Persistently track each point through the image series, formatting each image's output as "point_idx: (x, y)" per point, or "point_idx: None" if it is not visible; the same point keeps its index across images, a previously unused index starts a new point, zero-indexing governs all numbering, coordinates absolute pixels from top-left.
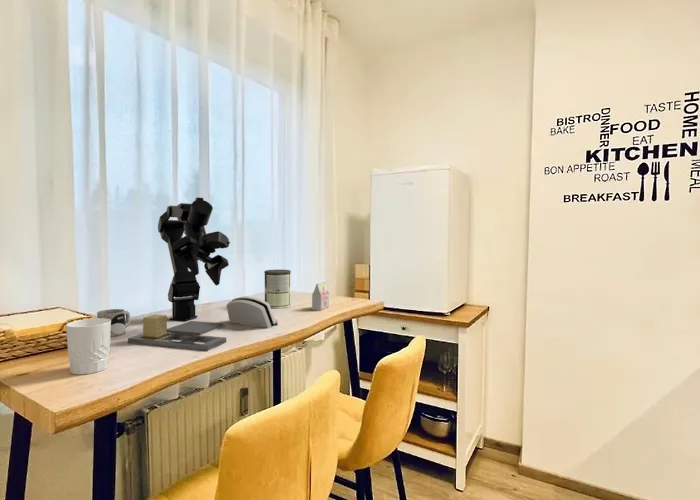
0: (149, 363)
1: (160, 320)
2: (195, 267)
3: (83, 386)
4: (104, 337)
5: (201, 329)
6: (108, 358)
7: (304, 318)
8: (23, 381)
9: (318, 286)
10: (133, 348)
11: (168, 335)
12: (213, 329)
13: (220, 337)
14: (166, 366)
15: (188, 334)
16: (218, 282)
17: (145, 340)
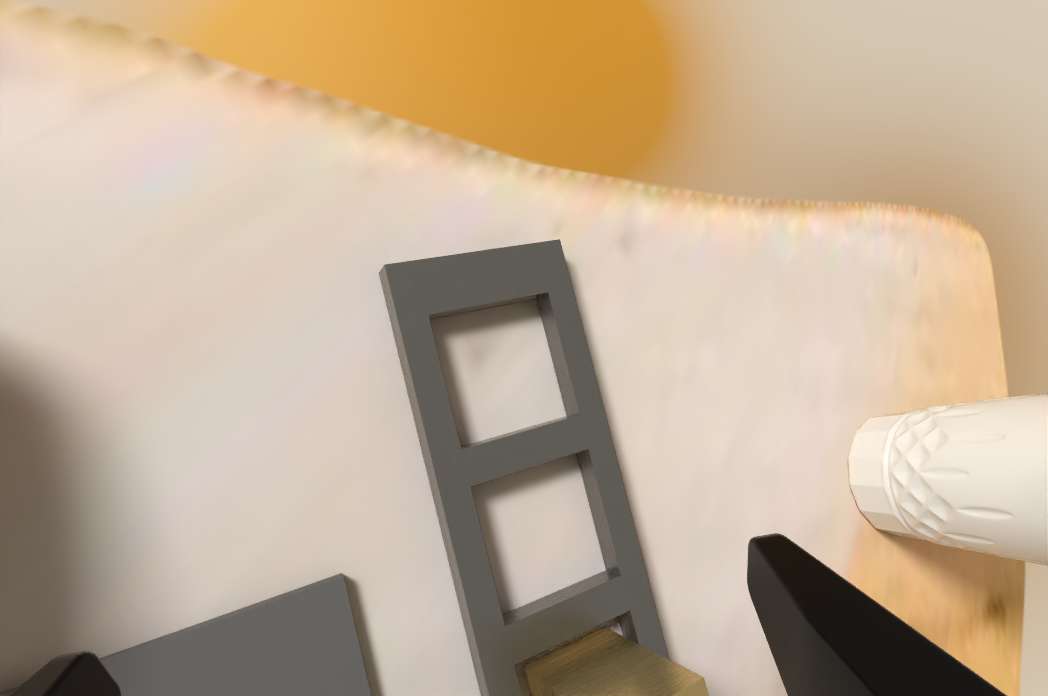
0: (763, 341)
1: (648, 690)
2: (895, 639)
3: (930, 331)
4: (1003, 400)
5: (252, 673)
6: (885, 431)
7: None
8: None
9: None
10: (710, 620)
11: (544, 641)
12: (143, 643)
13: (403, 300)
14: (746, 252)
15: (460, 552)
16: (70, 669)
17: (665, 649)
